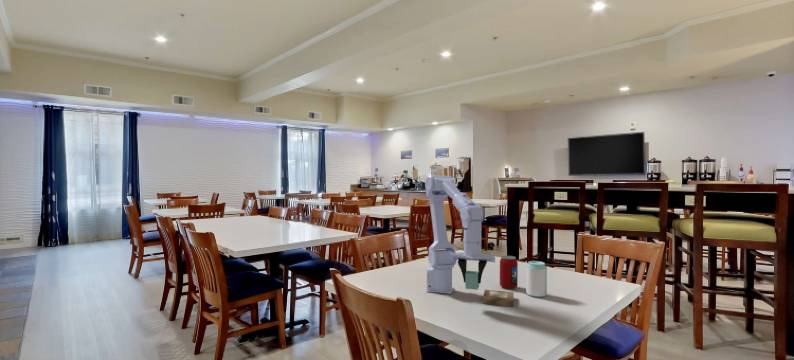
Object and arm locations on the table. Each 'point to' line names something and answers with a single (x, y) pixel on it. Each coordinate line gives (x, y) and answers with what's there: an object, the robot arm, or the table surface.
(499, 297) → the walnut base
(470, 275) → the teal block
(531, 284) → the can
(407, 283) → the table surface
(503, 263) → the beverage can
